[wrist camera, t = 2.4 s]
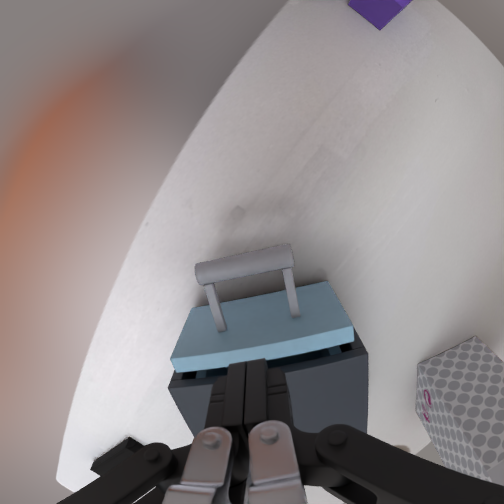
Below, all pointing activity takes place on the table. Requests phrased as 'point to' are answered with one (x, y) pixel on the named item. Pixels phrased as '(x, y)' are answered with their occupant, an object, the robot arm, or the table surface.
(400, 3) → the block
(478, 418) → the box
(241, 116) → the table surface
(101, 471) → the vhs tape
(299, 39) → the table surface
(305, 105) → the table surface
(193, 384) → the cabinet
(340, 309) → the drawer
